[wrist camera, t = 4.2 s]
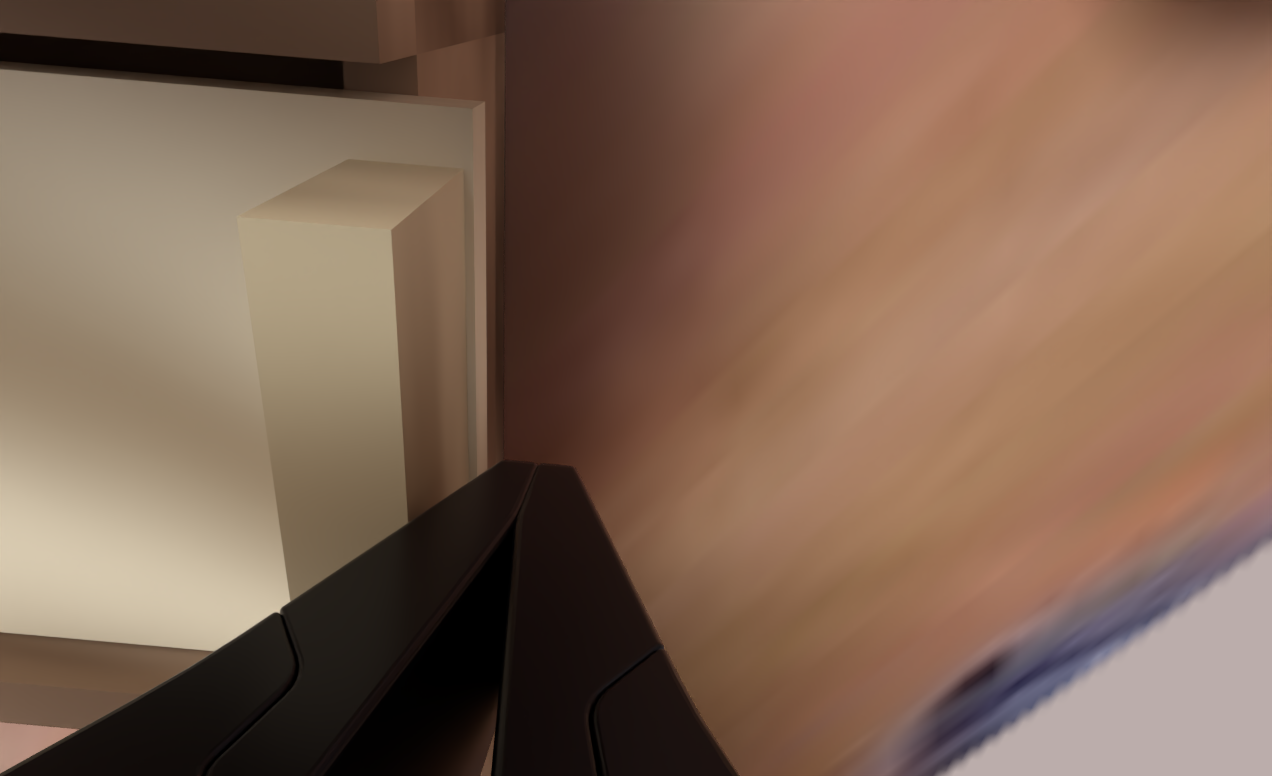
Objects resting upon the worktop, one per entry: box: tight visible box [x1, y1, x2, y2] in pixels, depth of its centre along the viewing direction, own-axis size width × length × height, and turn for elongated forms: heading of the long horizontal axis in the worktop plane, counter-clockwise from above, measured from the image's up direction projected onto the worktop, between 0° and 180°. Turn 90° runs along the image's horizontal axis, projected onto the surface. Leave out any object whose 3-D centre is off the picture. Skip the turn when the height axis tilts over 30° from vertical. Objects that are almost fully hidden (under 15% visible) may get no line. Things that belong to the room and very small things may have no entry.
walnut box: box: [0, 0, 505, 729], centre depth 12 cm, size 10×11×6 cm
